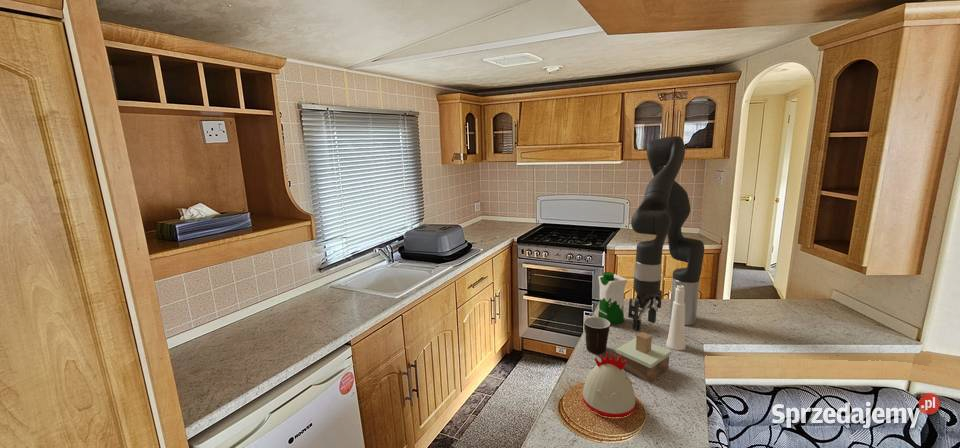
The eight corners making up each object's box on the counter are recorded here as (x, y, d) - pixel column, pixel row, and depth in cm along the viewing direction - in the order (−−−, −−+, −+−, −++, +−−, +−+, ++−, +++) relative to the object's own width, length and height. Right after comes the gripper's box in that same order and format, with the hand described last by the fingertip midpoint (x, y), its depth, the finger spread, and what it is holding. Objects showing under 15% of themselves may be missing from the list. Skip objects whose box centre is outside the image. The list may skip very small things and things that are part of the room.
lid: (636, 340, 131) (637, 323, 130) (670, 354, 122) (672, 336, 121) (615, 352, 124) (616, 334, 123) (650, 368, 115) (651, 349, 114)
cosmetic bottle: (689, 350, 133) (694, 289, 129) (671, 350, 133) (676, 289, 129) (679, 341, 139) (684, 282, 135) (663, 341, 139) (667, 283, 135)
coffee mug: (589, 340, 142) (590, 314, 140) (612, 347, 137) (614, 321, 134) (575, 354, 133) (575, 327, 131) (599, 362, 128) (600, 334, 126)
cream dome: (634, 424, 100) (637, 371, 97) (579, 412, 105) (580, 361, 102) (635, 392, 113) (637, 344, 110) (585, 382, 118) (587, 336, 115)
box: (636, 354, 132) (636, 341, 131) (668, 369, 123) (669, 354, 122) (616, 366, 125) (617, 352, 124) (649, 382, 117) (650, 367, 116)
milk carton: (594, 318, 159) (596, 271, 155) (612, 314, 162) (614, 267, 158) (609, 327, 151) (611, 278, 147) (627, 322, 154) (630, 274, 150)
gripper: (648, 268, 125) (645, 315, 128) (622, 278, 117) (619, 328, 120) (671, 274, 119) (667, 323, 122) (646, 284, 111) (642, 337, 114)
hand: (644, 326), depth 121 cm, fingers open, 8 cm apart
